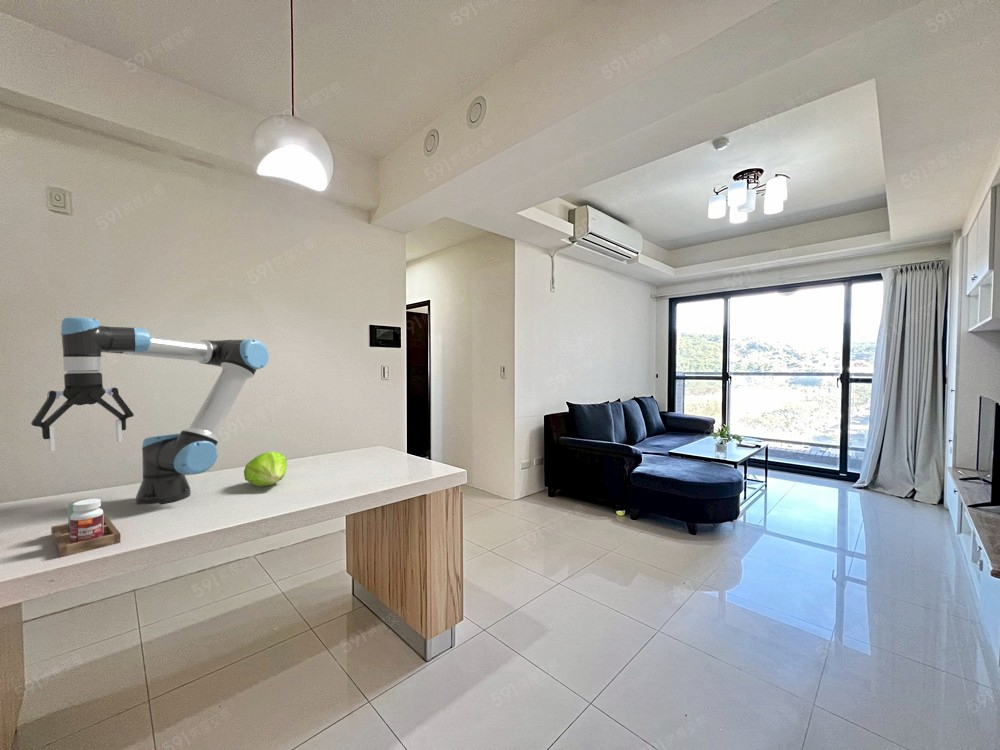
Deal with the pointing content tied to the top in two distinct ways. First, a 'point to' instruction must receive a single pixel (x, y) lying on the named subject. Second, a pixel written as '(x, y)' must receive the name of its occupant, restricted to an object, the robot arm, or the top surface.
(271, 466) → the lettuce
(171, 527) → the top surface
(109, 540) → the crate
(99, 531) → the pill bottle
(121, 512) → the top surface
